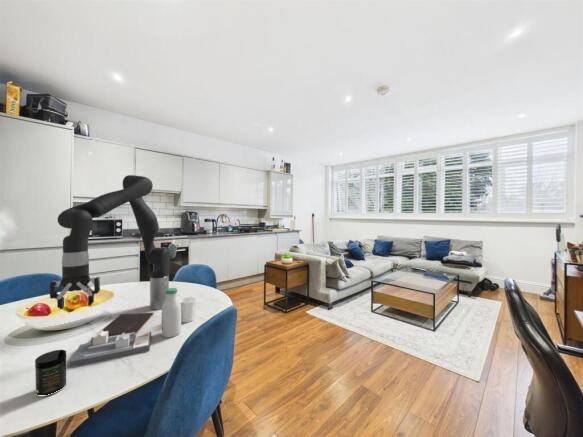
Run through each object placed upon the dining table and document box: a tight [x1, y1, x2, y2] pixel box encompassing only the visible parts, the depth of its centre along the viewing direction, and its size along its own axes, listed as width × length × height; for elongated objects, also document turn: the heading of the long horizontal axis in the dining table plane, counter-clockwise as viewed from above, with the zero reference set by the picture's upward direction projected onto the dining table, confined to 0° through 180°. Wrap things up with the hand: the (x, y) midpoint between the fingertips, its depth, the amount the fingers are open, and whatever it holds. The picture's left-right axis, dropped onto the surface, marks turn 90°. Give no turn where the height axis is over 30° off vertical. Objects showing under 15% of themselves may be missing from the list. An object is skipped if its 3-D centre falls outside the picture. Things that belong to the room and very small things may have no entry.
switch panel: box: [68, 331, 152, 368], centre depth 95 cm, size 12×24×3 cm, turn 117°
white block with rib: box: [115, 333, 130, 349], centre depth 94 cm, size 4×4×4 cm
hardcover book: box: [90, 312, 155, 343], centre depth 113 cm, size 16×23×2 cm
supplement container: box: [34, 349, 67, 396], centre depth 74 cm, size 7×7×10 cm
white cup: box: [178, 296, 197, 323], centre depth 122 cm, size 8×8×10 cm
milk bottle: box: [161, 287, 182, 338], centre depth 108 cm, size 8×8×20 cm
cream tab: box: [92, 329, 108, 346], centre depth 95 cm, size 4×4×4 cm
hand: (76, 306), depth 91 cm, fingers open, 7 cm apart
